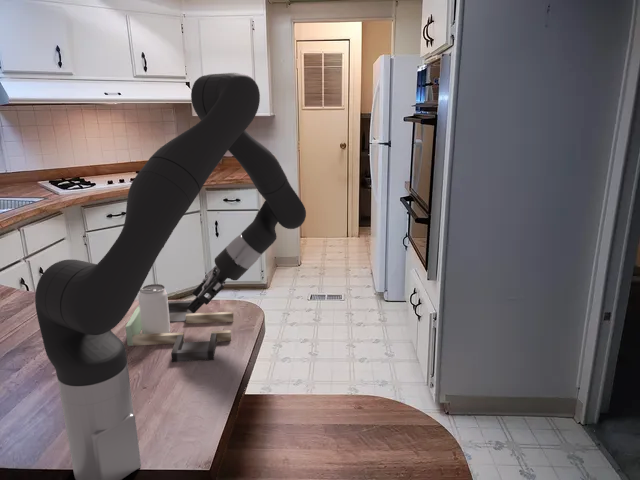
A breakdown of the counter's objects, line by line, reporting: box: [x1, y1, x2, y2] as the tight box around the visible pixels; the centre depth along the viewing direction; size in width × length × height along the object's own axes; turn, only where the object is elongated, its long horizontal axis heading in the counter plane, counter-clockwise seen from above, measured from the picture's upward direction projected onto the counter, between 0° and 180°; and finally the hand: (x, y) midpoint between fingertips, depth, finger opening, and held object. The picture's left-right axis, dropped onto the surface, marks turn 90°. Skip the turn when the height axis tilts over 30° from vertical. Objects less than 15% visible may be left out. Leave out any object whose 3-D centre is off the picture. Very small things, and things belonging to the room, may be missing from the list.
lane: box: [126, 300, 235, 363], centre depth 112 cm, size 24×28×2 cm
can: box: [138, 283, 171, 334], centre depth 110 cm, size 6×6×12 cm
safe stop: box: [125, 305, 142, 347], centre depth 111 cm, size 1×11×5 cm, turn 7°
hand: (193, 302), depth 111 cm, fingers open, 8 cm apart
